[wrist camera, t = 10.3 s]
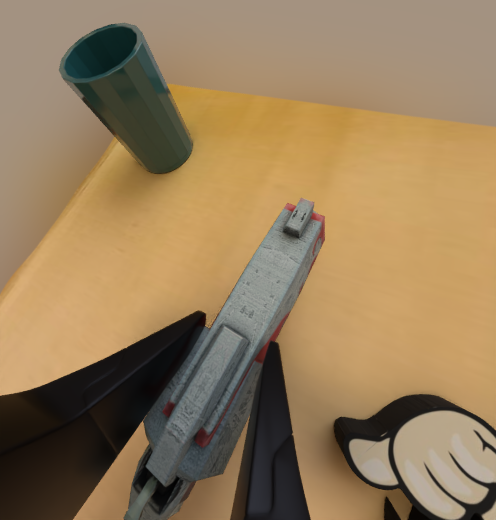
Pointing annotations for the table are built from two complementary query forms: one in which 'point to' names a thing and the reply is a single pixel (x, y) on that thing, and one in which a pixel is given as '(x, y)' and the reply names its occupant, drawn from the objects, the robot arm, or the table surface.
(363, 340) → the table surface
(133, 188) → the table surface
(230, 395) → the toy gun
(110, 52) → the pen holder
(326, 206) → the table surface
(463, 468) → the toy
